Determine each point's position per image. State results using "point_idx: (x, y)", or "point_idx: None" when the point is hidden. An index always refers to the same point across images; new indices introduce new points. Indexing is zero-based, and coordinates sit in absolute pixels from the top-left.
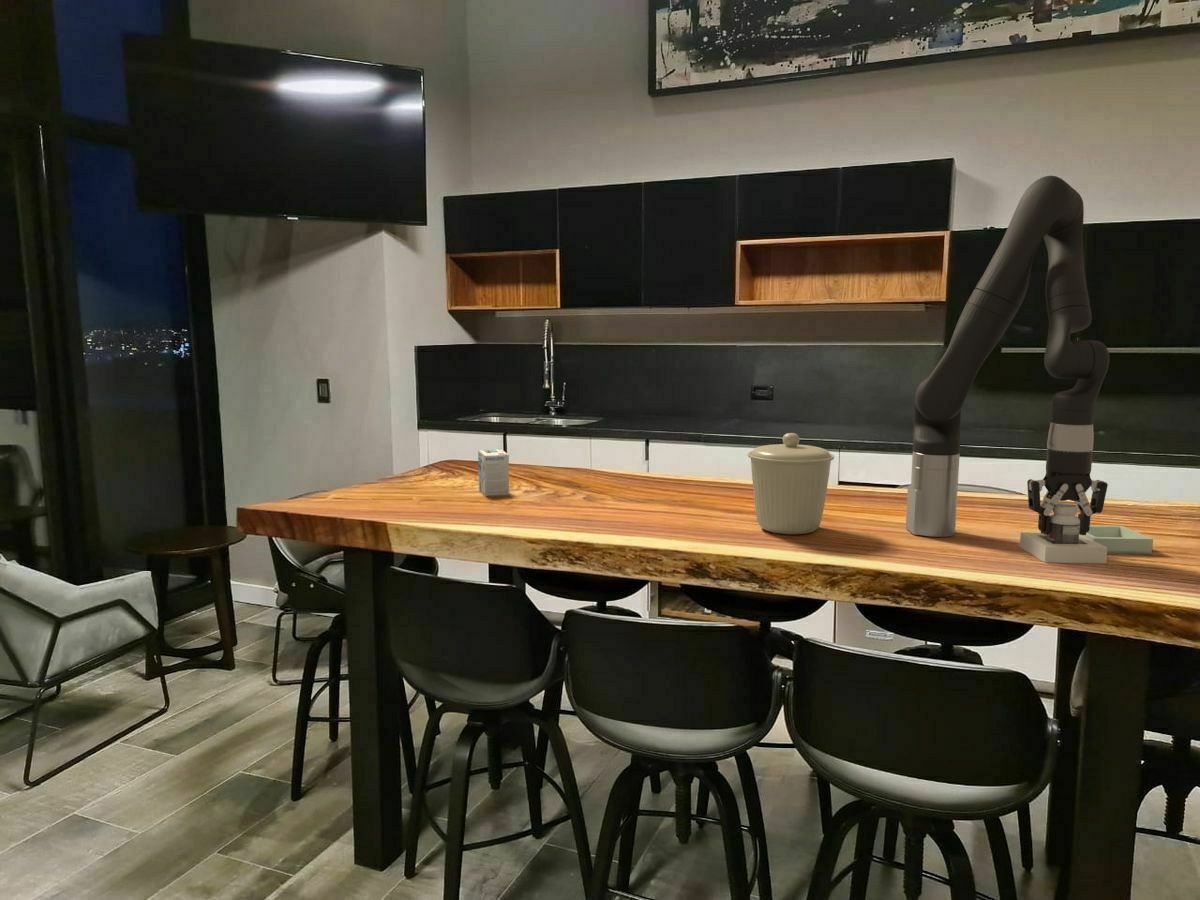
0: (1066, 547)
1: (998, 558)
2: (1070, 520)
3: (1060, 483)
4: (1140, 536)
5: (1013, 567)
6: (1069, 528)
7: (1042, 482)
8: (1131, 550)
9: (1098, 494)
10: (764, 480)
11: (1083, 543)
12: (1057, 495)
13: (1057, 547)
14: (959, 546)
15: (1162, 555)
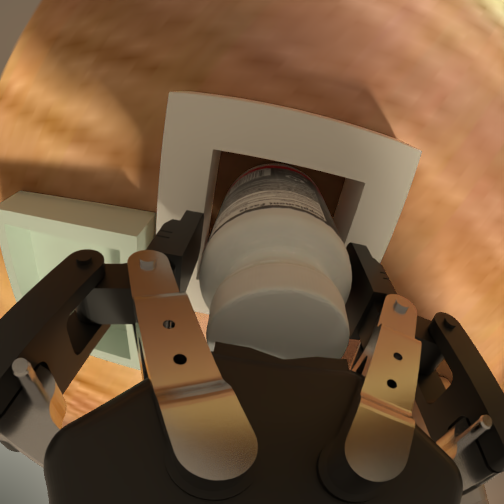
0: (345, 125)
1: (476, 212)
2: (295, 227)
3: (387, 486)
4: (9, 243)
5: (501, 125)
6: (298, 202)
7: (465, 476)
8: (51, 200)
9: (39, 340)
10: None
11: (208, 191)
12: (402, 381)
13: (380, 136)
14: (460, 320)
15: (5, 181)
